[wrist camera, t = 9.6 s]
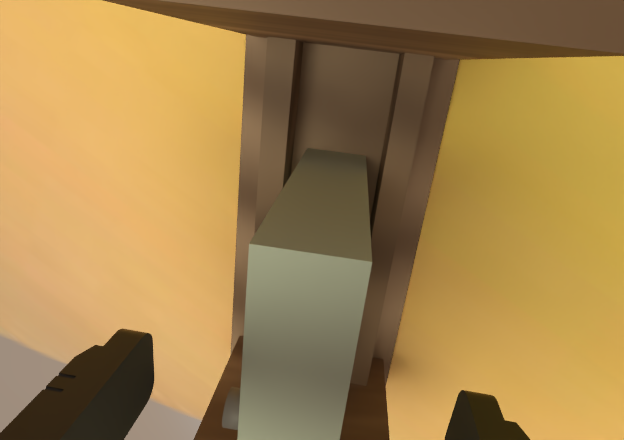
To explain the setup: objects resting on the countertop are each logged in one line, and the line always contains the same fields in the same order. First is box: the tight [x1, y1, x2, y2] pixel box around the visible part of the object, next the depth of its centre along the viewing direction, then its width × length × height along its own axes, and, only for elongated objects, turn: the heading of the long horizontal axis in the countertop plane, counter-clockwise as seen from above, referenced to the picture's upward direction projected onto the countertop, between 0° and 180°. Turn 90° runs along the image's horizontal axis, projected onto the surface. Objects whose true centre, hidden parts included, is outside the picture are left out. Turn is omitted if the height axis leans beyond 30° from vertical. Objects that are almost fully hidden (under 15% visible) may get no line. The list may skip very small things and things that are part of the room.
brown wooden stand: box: [104, 0, 624, 440], centre depth 16 cm, size 22×10×15 cm, turn 174°
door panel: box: [222, 148, 372, 440], centre depth 17 cm, size 10×4×12 cm, turn 174°
